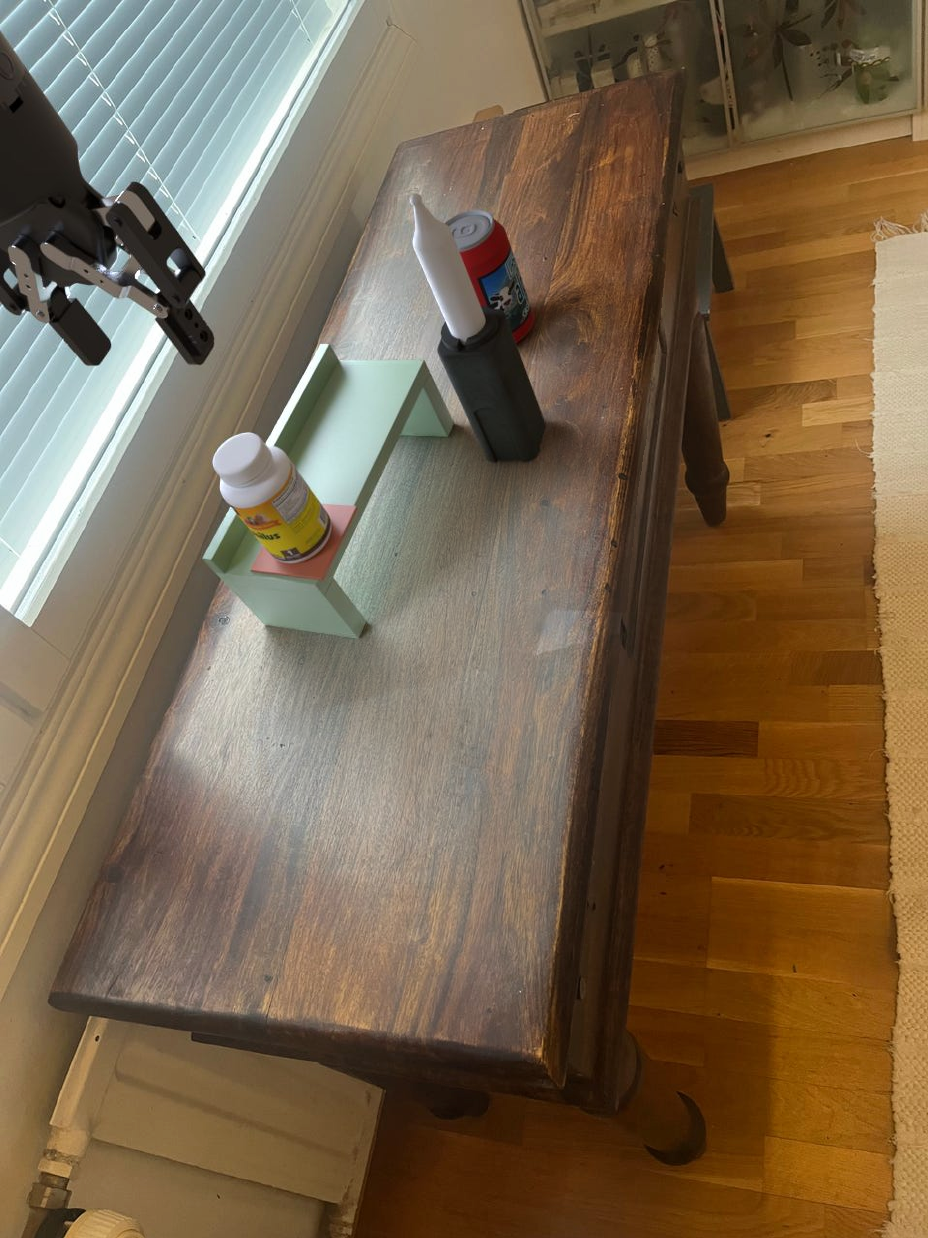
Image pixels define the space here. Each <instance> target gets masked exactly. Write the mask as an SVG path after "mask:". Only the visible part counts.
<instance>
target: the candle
mask: <svg viewBox="0 0 928 1238" xmlns="http://www.w3.org/2000/svg"><path fill="white" fill-rule="evenodd" d="M409 203H410V204H411V205H412V206H413V215H414V226H415V229H414V234H413V238H412V247H413V250H414V252H415V254H416V256H417V259H418V261H419V263H420V266H421V268H422V270H423V272H424V275H425V278H426V279H427V282H428V284H429V286H430V288H431V291H432V293H433V296H434V298H435V300H436V302H437V304H438V307H439V309H440V311H441V314H442V316H443V318H444V320H445V321H444V322H443V324H442V326H441V329H440V340H439V342H438V345H437V349H436V351H437V352H436V353H437V355H438V357H439V360H440V362H441V363H442V365H443V369H444V371H445V372H446V374H447V376H448V379H449V381H450V383H451V385H452V388H453V389H454V392H455V394H456V396H457V398H458V400H459V402H460V405H461V407H462V409H463V411H464V413H465V416H466V418H467V420H468V422H469V425H470V427H471V428H472V430H473V432H474V435H475V437H476V439H477V441H478V444H479V446H480V448H481V449H482V452H483V455H484V456H485V459H486V460H487V461H488V462H489V463H492V464H497V463H498V462H522V463H528V462H531V461H533V460H534V459H535V458H537V456H538V455H539V453H540V450H541V448H542V444H543V440H544V438H545V437H544V436H545V433H546V429H547V424H546V420H545V419H544V415H543V412H542V410H541V408H540V404H539V402H538V399H537V397H536V394H535V391H534V388H533V386H532V385H533V384H532V383H531V380H530V378H529V375H528V372H527V369H526V367H525V364H524V361H523V358H522V356H521V353H520V350H519V348H518V345H517V343H516V342H515V339H514V337H513V334H512V331H511V329H510V326H509V323H508V321H507V318H506V315H505V313H504V312H503V311H502V310H500V309H491V308H489V307H487V306H483V305H480V303H479V301H478V298H477V296H476V293H475V291H474V288H473V286H472V283H471V281H470V278H469V275H468V273H467V270H466V268H465V265H464V263H463V260H462V258H461V255H460V253H459V250H458V247H457V245H456V242H455V240H454V237H453V235H452V232H451V230H450V228H449V227H448V226H447V225H446V224H444V223H445V222H443V221H441V220H439V219H437V218H436V217H435V215H433V214H432V212H431V211H430V210H429V208H427V206H426V205H425V204H424V203H423V197H422V196H421V194H419V193H415V192H414V193H412V194H411V195H410V197H409Z"/></svg>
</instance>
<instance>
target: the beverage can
mask: <svg viewBox="0 0 928 1238" xmlns="http://www.w3.org/2000/svg"><path fill="white" fill-rule="evenodd" d="M443 223H444V224H446V225H447V226H448V227H449V228H450V230H451V232H452V235H453V237H454V240H455V242H456V245H457V247H458V250H459V253H460V255H461V258H462V260H463V263H464V265H465V268H466V270H467V273H468V275H469V278H470V281H471V283H472V286H473V288H474V291H475V293H476V296H477V298H478V301H479V303H480V305H483V306H487V307H489V308H491V309H500V310H502V311H503V312H504V313H505V315H506V318H507V321H508V323H509V326H510V329H511V331H512V334H513V337H514V339H515V342H516V344H517V343H519V341H521V340H522V339H524V337H526V335H528V333H529V332H530V331H531V330H532V327H533V325H534V321H535V318H534V317H535V315H534V312H533V309H532V306H531V305H532V304H531V303H530V299H529V296H528V293H527V290H526V287H525V283H524V281H523V277H522V275H521V271H520V269H519V265H518V263H517V260H516V257H515V254H514V252H513V248H512V246H511V242H510V240H509V237H508V234H507V231H506V229H505V227H504V226H503V225H502V223H500V222H499V221H498V220H496V219H495V218H494V217H493V215H492V214H491V213H490V212H489V211H487V210H484V209H469V210H466V211H462V212H460V213H457V214H455V215H454V216H452V217H450V218H449V219H448V220H446V221H445V222H443Z"/></svg>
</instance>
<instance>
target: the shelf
mask: <svg viewBox="0 0 928 1238" xmlns="http://www.w3.org/2000/svg"><path fill="white" fill-rule="evenodd" d="M439 390H440V389H439V388H438V386H437V383H436V382H435V379H434V378H433V376H432V373H431V371H430V368H429V366H428V365H427V362H426V360H425V359H353V360H352V359H351V360H350V359H349V360H348V359H345V360H342V359H341V360H340V359H339V357H338V356H337V354H336V353H335V351H334V348H333V346H331V344H330V343H320V344H319V347H318V349H317V350H316V352H315V354H314V355H313V357H312V359H311V361H310V363H309V365H308V366H307V368H306V369H305V372H304V374H303V375H302V377H301V379H300V380H299V383H298V384H297V386H296V388H295V389H294V392H293V393H292V395H291V397H290V399H289V400H288V402H287V404H286V406H285V408H284V409H283V412H282V414H281V415H280V417H279V419H278V420H277V422H276V424H275V425H274V428H273V430H272V432H271V433H270V435H269V436H268V439H267V440H266V442H265V444H266V445H271V446H275V447H277V448H279V449H281V450H282V451H283V452H284V453H285V454H286V455H287V456H288V458H289V459H290V460H291V462H292V463H293V465H294V466H295V467H296V469H297V470H298V472H299V473H300V474H301V476H302V477H303V479H304V480H305V482H306V483H307V484H308V486H309V487H310V488H311V490H312V491H313V493H314V494H315V496H316V497H317V498H318V500H319V501H320V503H321V504H322V506H323V507H324V509H325V510H326V511H327V513H328V515H329V516H330V519H331V524H332V529H331V534H330V537H329V539H328V541H327V543H326V544H325V546H324V547H323V548H322V549H321V550H320V551H319V552H318V553H317V554H316V555H314V556H313V557H311V558H309V559H307V560H305V561H302V562H299V563H284V562H281V561H278V560H277V559H275V558H274V557H273V556H272V555H271V554H270V553H269V552H268V551H267V550H266V548H265V547H264V546H263V545H262V543H261V542H260V541H259V540H258V539H257V538H256V536H255V535H254V534H253V533H252V532H251V530H250V529H249V528H248V527H247V526H246V524H245V523H244V522H243V521H242V520H241V518H240V517H239V516H238V515H237V514H236V512H235V511H234V510H233V509H232V508H231V507H230V506H229V509H228V511H227V512H226V515H225V516H224V518H223V520H222V522H221V524H220V525H219V527H218V529H217V530H216V533H215V535H214V536H213V538H212V540H211V541H210V544H209V546H208V547H207V549H206V551H205V552H204V554H203V555H202V557H201V559H202V560H203V561H204V563H205V564H206V565H207V566H208V567H209V568H210V569H211V570H212V571H213V572H214V573H215V575H217V576H218V577H219V579H220V580H221V581H222V582H223V583H224V584H225V585H226V586H227V587H228V589H229V590H231V592H233V594H234V595H236V597H237V598H238V599H239V600H240V601H241V602H242V603H243V604H244V605H245V606H246V607H247V609H249V610H250V612H251V613H252V614H253V615H254V616H255V617H256V618H257V619H258V620H259V621H260V622H261V623H262V624H263V625H264V626H272V627H279V628H283V629H291V630H298V631H304V632H311V633H317V634H324V635H332V636H337V637H343V638H351V639H360V637H361V634H362V632H363V631H364V628H365V625H366V623H367V619H366V618H365V617H364V615H363V614H362V612H361V611H360V610H359V609H358V608H357V606H356V605H355V604H354V602H353V601H352V600H351V598H350V597H349V596H348V595H347V593H346V592H345V591H344V589H343V588H342V586H340V584H339V583H338V582H337V580H336V579H335V578H334V576H335V574H336V572H337V569H338V567H339V565H340V564H341V561H342V559H343V557H344V555H345V553H346V551H347V549H348V547H349V545H350V542H351V541H352V538H353V536H354V534H355V532H356V530H357V527H358V525H359V523H360V521H361V519H362V517H363V515H364V513H365V511H366V509H367V506H368V505H369V502H370V500H371V498H372V496H373V494H374V492H375V489H376V487H377V485H378V483H379V481H380V479H381V477H382V474H383V473H384V470H385V469H386V466H387V464H388V462H389V460H390V458H391V455H392V453H393V451H394V449H395V447H396V446H397V443H398V441H399V439H400V437H401V436H410V437H411V436H412V437H439V438H441V437H443V438H444V437H445V438H448V437H449V436H450V434H451V431H452V429H453V427H454V425H455V421H454V419H453V417H452V415H451V413H450V411H449V409H448V407H447V404H446V402H445V400H444V398H443V395H442V394H441V392H440V391H439Z"/></svg>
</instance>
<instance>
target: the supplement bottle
mask: <svg viewBox="0 0 928 1238" xmlns="http://www.w3.org/2000/svg"><path fill="white" fill-rule="evenodd" d="M212 466H213V469H214V471H215V472H216V474H218V476H219V478H220V480H219V490H220V494H221V496H222V498H223V499H224V501H225V502H226V503H227V504H228V505H229V508H230V507H231V508H232V509H233V510H234V511H235V512H236V514H237V515H238V516H239V517H240V518H241V520H242V521H243V522H244V523H245V524H246V526H247V527H248V528H249V529H250V530H251V532H252V533H253V534H254V535H255V536H256V538H257V539H258V540H259V541H260V542H261V543H262V545H263V546H264V547H265V548H266V550H267V551H268V552H269V553H270V554H271V555H272V556H273V557H274V558H275V559H277V560H278V561H281V562H284V563H299V562H302V561H305V560H307V559H309V558H311V557H313V556H314V555H316V554H317V553H318V552H319V551H320V550H321V549H322V548H323V547H324V546H325V544H326V543H327V541H328V539H329V537H330V534H331V529H332V524H331V519H330V516H329V515H328V513H327V511H326V510H325V509H324V507H323V506H322V504H321V503H320V501H319V500H318V498H317V497H316V496H315V494H314V493H313V491H312V490H311V488H310V487H309V486H308V484H307V483H306V482H305V480H304V479H303V477H302V476H301V474H300V473H299V472H298V470H297V469H296V467H295V466H294V465H293V463H292V462H291V460H290V459H289V458H288V456H287V455H286V454H285V453H284V452H283V451H282V450H281V449H279V448H277V447H275V446H271V445H266V443H265V442H264V440H263V439H262V438H261V437H260V436H259V435H258V434H256V433H253V432H241V433H238V434H236V435H234V436H231V437H229V438H228V439H227V440H225V441H224V442H223V443H222V444H221V445H220V446H219V447H218V448H217V450H216V451H215V453H214V455H213V458H212Z"/></svg>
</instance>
